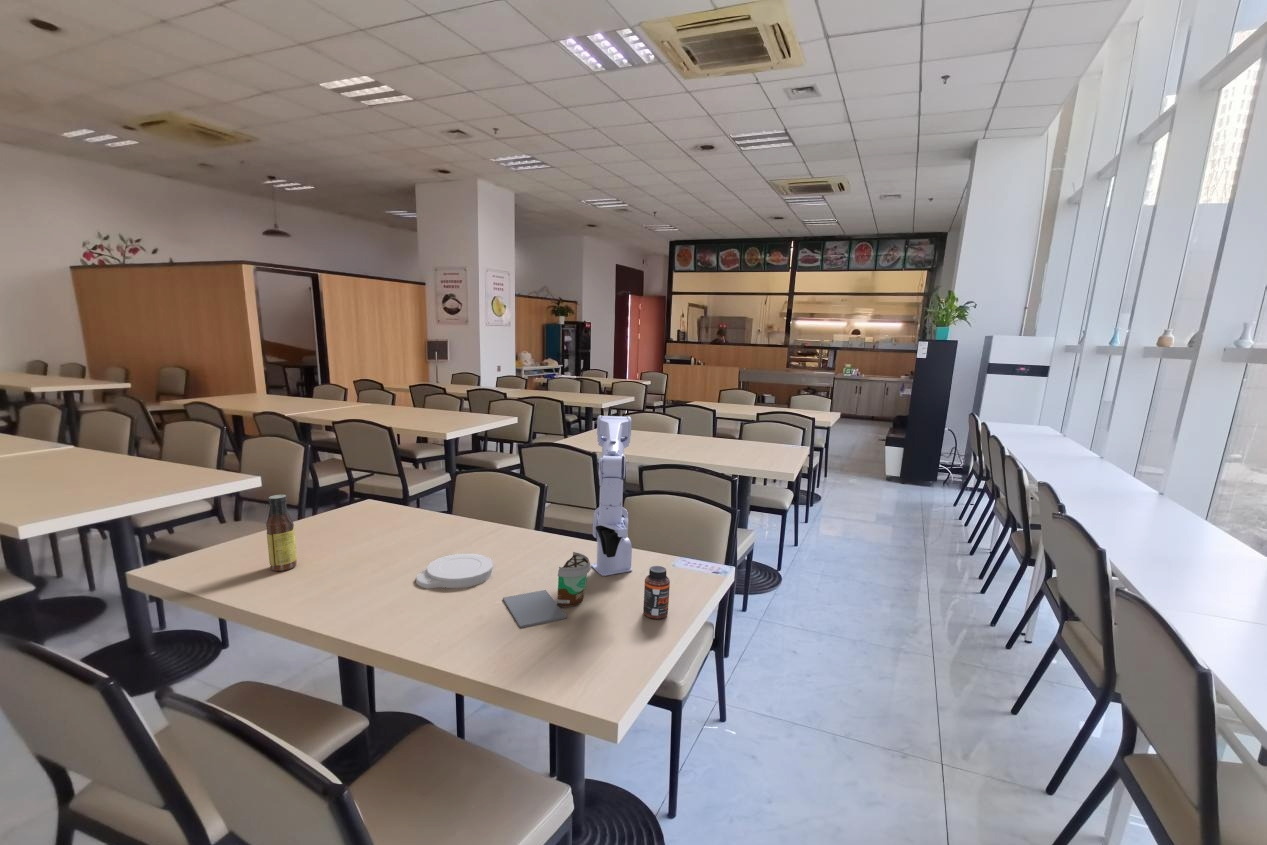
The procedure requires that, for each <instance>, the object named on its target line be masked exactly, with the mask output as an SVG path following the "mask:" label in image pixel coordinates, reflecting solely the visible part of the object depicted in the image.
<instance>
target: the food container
mask: <svg viewBox="0 0 1267 845" xmlns="http://www.w3.org/2000/svg"><path fill="white" fill-rule="evenodd" d="M591 567H592V566H591V561H590V560H589V557H588V556H586V555H585V554H582V553H580V552H575V551H573V552H572V556H571V558H570V559H568V560H566V562H565V564H564V565H563V566H562V567H561V566H559V567H558V571H557V572H558V573H557V577H558V580H557V596H556V598H557V599H556V603H557V606H559V607H574V606H577V605H580V604H581V603H582V602H583V601H584V596H585V590H586V583H587V578H588V577H587V576H588V573H590V572H591V569H592V568H591Z"/></svg>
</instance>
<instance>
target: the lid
mask: <svg viewBox="0 0 1267 845" xmlns="http://www.w3.org/2000/svg"><path fill="white" fill-rule="evenodd" d="M493 568H494V562H493V560H492V559H491V558H490V557H488V556H486V555H484V554H483V555H482V554H479V553H470V552H469V553H454V554H449V555H445V556H441V557H439V558H436V559H434V560H433V561H431V562H430V563H428V565H427V567H426V569H425V570H422V571H421V572H419V573H418V574H417V575H416V577H415V579H416V580H415V581H416V585H417V586H419V587H420V588H425V589H428V590H429V589H435V588H436V589H437V588H445V587H446V589H460V588H461V589H463V588H467V587H469V586H470V587H472V586H477V585H480V584H482V583H484V582H486V581H487V580H489V578H491V577H492V574H493ZM470 587H469V588H470Z"/></svg>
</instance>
